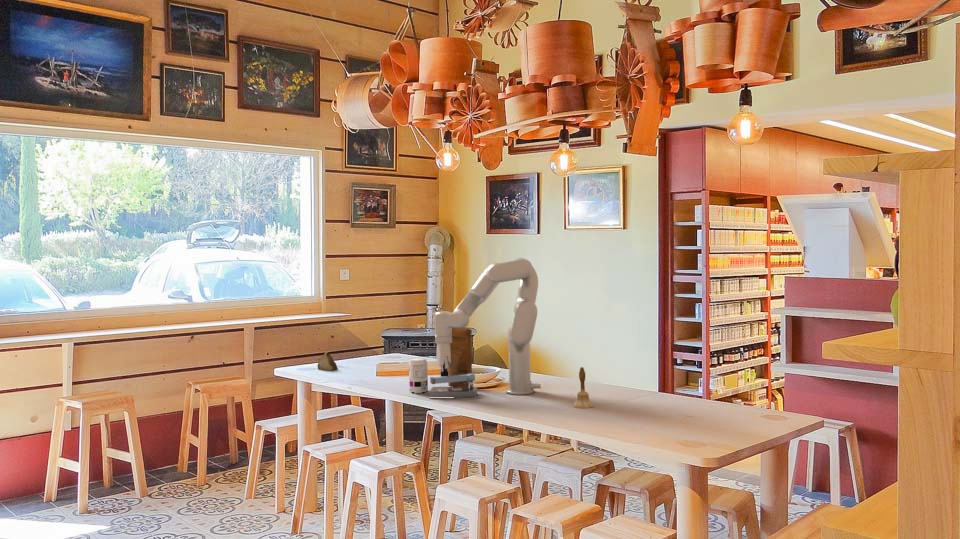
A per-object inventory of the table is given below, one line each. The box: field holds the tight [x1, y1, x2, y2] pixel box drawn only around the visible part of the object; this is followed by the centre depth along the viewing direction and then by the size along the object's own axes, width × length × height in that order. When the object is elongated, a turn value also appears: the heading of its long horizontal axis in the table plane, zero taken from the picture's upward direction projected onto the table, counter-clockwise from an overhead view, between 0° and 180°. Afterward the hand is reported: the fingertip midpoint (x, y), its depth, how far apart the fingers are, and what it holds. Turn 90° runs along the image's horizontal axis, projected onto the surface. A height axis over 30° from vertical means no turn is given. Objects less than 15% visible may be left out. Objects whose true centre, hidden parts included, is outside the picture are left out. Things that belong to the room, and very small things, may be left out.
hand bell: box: [572, 366, 594, 409], centre depth 320 cm, size 8×8×16 cm
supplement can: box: [408, 357, 429, 394], centre depth 353 cm, size 8×8×15 cm
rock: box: [316, 351, 339, 371], centre depth 415 cm, size 11×9×10 cm
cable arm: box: [430, 373, 476, 385], centre depth 343 cm, size 20×4×2 cm, turn 110°
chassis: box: [428, 381, 478, 399], centre depth 343 cm, size 20×10×6 cm, turn 85°
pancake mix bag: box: [448, 327, 473, 387], centre depth 362 cm, size 7×19×28 cm, turn 45°
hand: (444, 380), depth 346 cm, fingers closed
